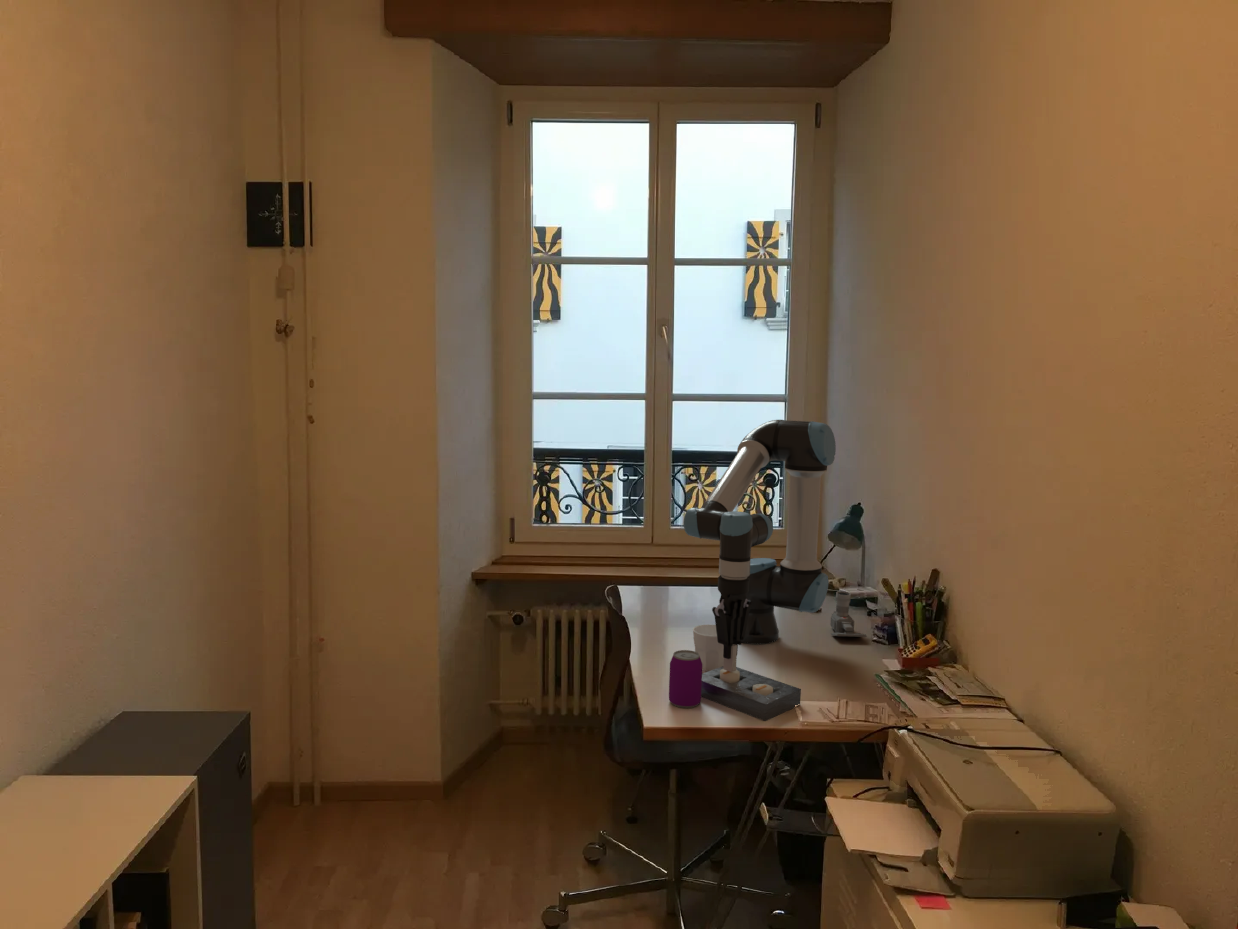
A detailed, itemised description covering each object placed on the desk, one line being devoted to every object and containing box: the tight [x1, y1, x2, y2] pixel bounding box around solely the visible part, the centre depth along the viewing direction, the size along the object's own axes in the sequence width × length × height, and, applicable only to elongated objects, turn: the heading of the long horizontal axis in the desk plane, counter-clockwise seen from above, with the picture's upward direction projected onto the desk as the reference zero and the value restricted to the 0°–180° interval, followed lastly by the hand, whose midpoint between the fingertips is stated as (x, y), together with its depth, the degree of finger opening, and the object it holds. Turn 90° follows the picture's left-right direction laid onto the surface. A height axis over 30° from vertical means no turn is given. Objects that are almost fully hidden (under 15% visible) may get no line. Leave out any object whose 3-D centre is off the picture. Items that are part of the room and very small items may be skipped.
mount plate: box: [701, 666, 802, 722], centre depth 211 cm, size 14×22×4 cm, turn 44°
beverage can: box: [668, 649, 703, 709], centre depth 207 cm, size 8×8×12 cm
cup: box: [692, 624, 724, 672], centre depth 232 cm, size 10×10×10 cm
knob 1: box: [720, 669, 740, 684], centre depth 214 cm, size 5×5×4 cm
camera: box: [830, 590, 867, 638], centre depth 262 cm, size 9×12×15 cm
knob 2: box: [752, 684, 773, 696], centre depth 207 cm, size 5×5×4 cm
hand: (729, 670), depth 214 cm, fingers closed
